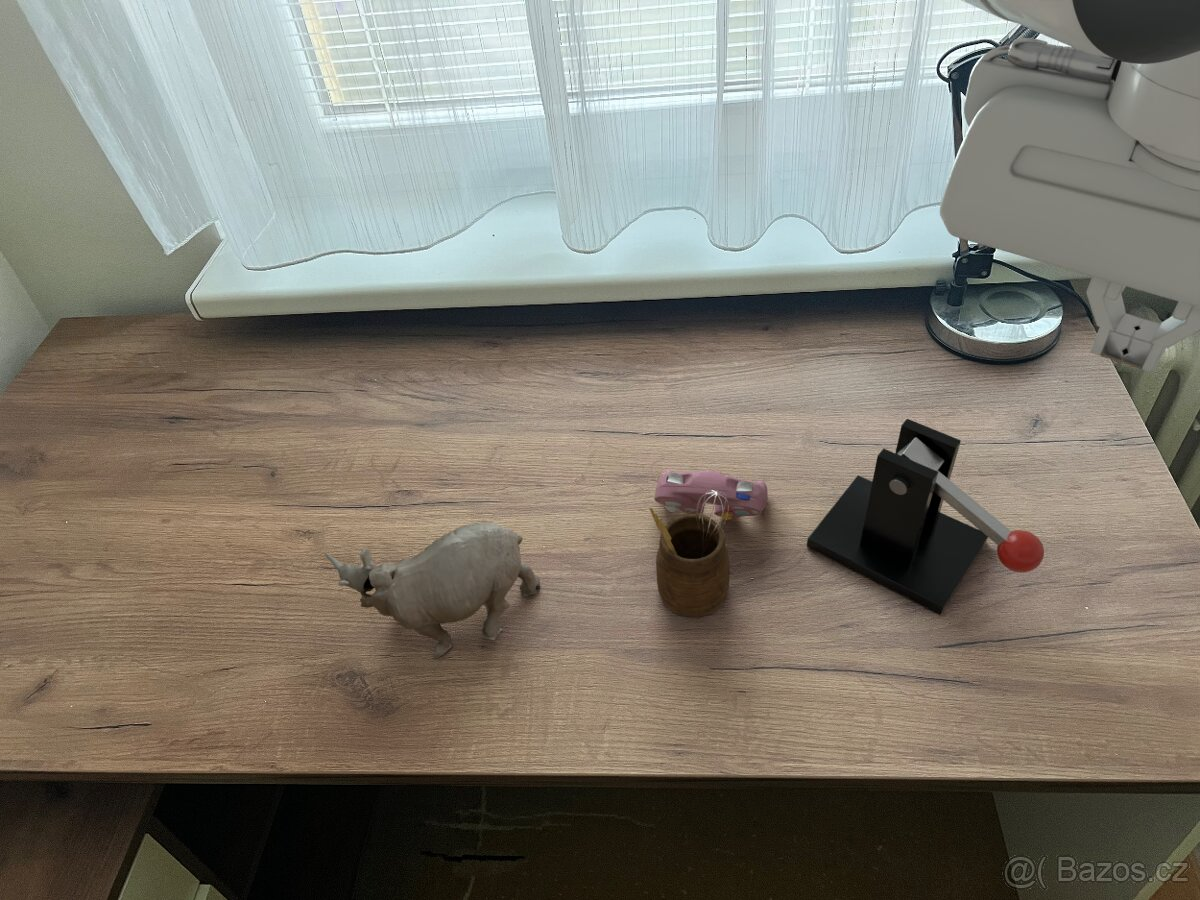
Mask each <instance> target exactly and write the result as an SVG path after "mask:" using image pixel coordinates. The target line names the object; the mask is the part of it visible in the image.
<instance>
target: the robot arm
mask: <svg viewBox="0 0 1200 900" xmlns="http://www.w3.org/2000/svg"><path fill="white" fill-rule="evenodd" d="M961 1H962V2H964V3H966V4H969V5H971V6H973V7H975V8H978V9H980V10H982V11H984V12H985V13H988V14H990V15H993V16H995V17H998V18H999V19H1002V20H1004V21H1008V22H1011V23H1015V24H1018V25H1021V26H1023V27H1025V28H1027V29H1030V30H1032V31H1034V32H1036V33H1039V34H1040V35H1043V36H1045V37H1048V38H1050V39H1052V40H1055V41H1057V42H1060V43H1062V44H1064V45H1057V44H1050V43H1048V41H1046V40H1043V39H1038V38H1032V37H1020V38H1015V39H1013V41H1012V42H1011V44H1010V45H1009V44H1007V45H1000V46H998V47H995V48H993V49H990V50H989V51H987V52H986V53H984V54H982V56H981V57H980V58H979V59H978V60H977V61H976V63H975V65H974V66H973V67H972V69H971V71H970V74H969V79H968V84H967V89H966V94H965V98H964V103H963V114H964V119H965V123H966V124H967V126H968V129H967V130H966V132H965V135H964V138H963V139H962V142H961V144H960V146H959V149H958V151H957V154H956V156H955V158H954V162H953V165H952V167H951V170H950V173H949V175H948V178H947V181H946V183H945V184H946V185H945V188H944V190H943V191H944V192H943V195H942V199H941V201H940V206H939V216H940V218H941V220H942V222H943V224H944V227H945V228H946V231H947V233H949V235H951V236H952V237H954V238H958V239H961V240H964V241H968V242H972V243H975V244H978V245H982V246H985V247H989V248H992V249H996V250H999V251H1002V252H1006V253H1010V254H1012V255H1016V256H1020V257H1023V258H1027V259H1030V260H1034V261H1037V262H1040V263H1043V264H1044V263H1045V264H1046V265H1047V264H1048V265H1051V266H1054V267H1058V268H1062V269H1065V270H1069V271H1071V272H1075V273H1078V274H1082V275H1085V276H1089V277H1090V281H1089V284H1088V286H1087V289H1086V292H1085V293H1086V298H1087V300H1088V303H1089V306H1090V310H1091V312H1092V315H1093V318H1094V321H1095V324H1096V326H1097V327H1099V328H1098V330H1097V333H1096V335H1095V338H1094V339H1093V342H1092V345H1091V348H1090V351H1089V352H1090V354H1093V355H1097V356H1100V357H1102V358H1105V359H1109V360H1112V361H1115V362H1118V363H1122V364H1125V365H1128V366H1131V367H1134V368H1137V369H1139V370H1143V371H1145V372H1148V373H1150V374H1154V371H1155V370H1156V368H1157V367H1158V364H1159V362H1160V360H1161V359H1162V358H1163V355H1164V354H1165V351H1166V350H1167V349H1169V348H1172V347H1173V346H1175V345H1177V344H1178V343H1181V341H1183V340H1185V339H1187V338H1189V337H1191V336H1193V335H1194V334H1196V333H1198V332H1200V0H961ZM1065 45H1067V46H1065ZM1004 56H1005V57H1006V56H1007V57H1006V58H1007V59H1004V58H999V57H1004ZM1126 288H1131V289H1133V290H1134V289H1135V290H1137V291H1141V292H1144V293H1147V294H1151V295H1155V296H1158V297H1161V298H1165V299H1168V300H1172V301H1176V302H1177V303H1176V306H1175V307H1174V310H1173V312H1172V315H1171V316H1169V318H1166V319H1165V320H1164V321H1162V322H1157V321H1153V320H1149V319H1145V318H1142V317H1139V316H1136V315H1133V314H1130V313H1127V311H1126V307H1125V303H1124V299H1123V294H1122V293H1123V292H1124V290H1125V289H1126Z"/></svg>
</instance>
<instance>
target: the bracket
mask: <svg viewBox="0 0 1200 900" xmlns="http://www.w3.org/2000/svg"><path fill="white" fill-rule="evenodd" d="M915 437H916V438H918V439H919V440H920V441H921V442H923V443H924V444H925V445H926V446H927V447H929V448H930V449H931V450H932V451H933V452H935V453H936V454H937V455H938V456H940V457H941V458H942V459H943V460H944V462H943V464H942V465H941V466H940V468H939V469H938V471H939V472H940V473H942V474H943V475H944V476H945V477H946V478H948V479H949V480H950V479H951V477H952V473H953V470H954V466H955V463H956V459H957V456H958V452H959V449H960V445H961V442H962V439H959V438H956V437H954V436H952V435H949V434H947V433H944V432H941V431H939V430H936V429H934V428H932V427H929V426H927V425H924V424H922V423H920V422H917V421H914V420H912V419H909V418H906V419H905V420H904V421H903V423H902V424H901V425H900V430H899V435H898V439H897V444H896V449H895V452H893V451H891V450H889V449H887V448H882V449H881V450H880V452H879V453H877V456H876V461H875V467H874V470H873V476H872V480H870V479H867V478H865V477H863V476H861V475H859V474H858V475H856V477H855V478H854V479H853V480H852V481H851V483H850V485H849V486H848V487H847V488H846V489H845V491H844V492H843V493H842V494H841V496H840V497H839V498H838V499H837V501H836V502H835V503H834V505H833V506H832V507H831V508H830V509H829V511H828V512H827V513H826V515H824V517H823V518H822V520H821V521H820V522H819V523H818V525H817V526H816V527H815V528H814V529H813V531H812V532H811V533H810V535H809V536H808V537H807V540H806V541H807V542H806V548H808V549H809V550H812V551H814V552H816V553H817V554H819V555H822V556H824V557H826V558H827V559H829V560H831V561H834V562H835V563H837V564H839V565H841V566H843V567H845V568H847V569H849V570H851V571H853V572H855V573H857V574H859V575H861V576H862V577H865V578H867V579H868V580H871V581H873V582H875V583H877V584H879V585H880V586H882V587H884V588H886V589H887V590H890V591H892V592H894V593H895V594H897V595H900V596H901V597H903V598H906V599H907V600H910V601H912V603H913V602H914V603H916V604H917V605H920V606H921V607H923V608H925V609H927V610H929V611H931V612H933V613H935V614H937V615H939V616H941V615H942V614H943V612H944V611H945V610H946V607H948V604H949V603H950V601H951V600H952V599H953V596H954V595H955V593H956V592H957V590H958V589H959V588H960V586H961V584H962V583H963V581H964V579H965V578H966V576H967V575H968V572H969V571H970V569H971V568H972V566H973V565H974V563H975V561H976V560H977V559H978V557H979V555H980V554H981V552H982V550H983V549H984V547H985V546H986V544H987V541H988V539H989V537H988V536H986V535H985V534H984V533H983V532H981V531H980V530H979V529H978V528H977V527H975V526H974V527H973V526H971V525H969V524H967V523H965V522H963V521H960V520H958V519H956V518H953V517H952V516H949V515H947V514H945V513H943V512H941V511H942V507H943V504H944V502H945V501H944V500H943V499H942V498H941V497H939V496H938V495H937V494H936V493H935V492H933V490H934V486H935V483H936V479H937V476H938V471H935V470H933V469H931V468H928V467H926V466H924V465H921V464H919V463H917V462H914V461H912V460H910V459H907V458H905V457H903V456H900V455H898V452H899V451H900V450H901V449H903V448H904V447H905V446H906V445H907V444H908V443H909V442H910V441H912V440H913V439H914V438H915ZM950 481H951V480H950Z"/></svg>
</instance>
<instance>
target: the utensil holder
mask: <svg viewBox="0 0 1200 900" xmlns="http://www.w3.org/2000/svg"><path fill="white" fill-rule="evenodd" d="M708 491H713V490H708ZM708 491H707V492H708ZM717 491H718V490H717ZM707 492H706V494H709V493H707ZM713 492H714V491H713ZM720 493H721V492H720ZM706 494H704V495H705V497H706ZM715 494H716V496H717V494H718V493H717V492H715V493H714V495H715ZM723 494H724V493H723ZM704 495H703V496H704ZM718 495H720V494H718ZM724 495H725V494H724ZM703 496H702V497H703ZM712 496H713V495H712ZM716 496H715V500H716ZM721 496H722V495H721ZM702 497H701V498H702ZM710 497H711V496H710ZM710 497H709V498H710ZM718 497H719V496H718ZM722 497H724V496H722ZM725 497H726V495H725ZM725 497H724V498H725ZM701 498H700V499H701ZM709 498H708V499H709ZM708 499H707V500H708ZM719 499H720V497H719ZM725 499H726V498H725ZM704 500H705V498H704ZM707 500H706V501H707ZM715 500H714V504H712V508H711V513H710V516H706V515H703V514H704V512H703V506H702V509H701V511H702V513H700V514H697V513H696V514H692V513H685V514H681V515H678V516H676V517H674V518H672V519H670V520H669V521H668V522H666V524H664V521H663V520H662V518H661V516H660V517H659V516H658V513H657V512H655V511H654V509H653V507H652V506H649V507H648V509H649V510H650V513H651V516H652V518H653V520H654V524H655V525H656V527H657V529H658V531H659V532H660V537H659V540H658V541H659V542H658V548H657V552H656V557H655V568H656V569H655V570H656V585H657V591H658V594H659V597H660V599H661V600H662V603H663V604H664V605H665V606H666V607H667V608H668V609H669V610H670V611H672V612H674V613H675V614H677V615H680V616H683V617H688V618H700V617H705V616H708V615H710V614H712V613H714V612H715V611H717V610H718V609H720V607H721V606H722V605H723V603H724V602H725V601H726V599H727V596H728V593H729V589H730V571H731V570H730V568H731V566H730V553H729V549H728V547H727V540H726V536H725V532H724V531H723V527H724V525H725V523H726V521H727V520H725V519H724V522H723V524H722V520H723V518H722V516H721V517H719V520H718V522H717V521H716V520H714V519H713V518H712V517H713V513H714V510H715ZM706 501H705V502H706ZM720 501H721V499H720ZM726 501H727V500H725V503H726ZM699 502H700V500H699ZM727 503H728V501H727ZM704 504H705V505H706V503H704V502H703V505H704ZM721 504H722V502H721ZM698 506H699V503H698ZM724 508H725V505H724ZM728 509H729V504H728ZM697 510H698V507H697ZM723 512H724V510H723V505H722V515H723ZM727 514H728V511H727ZM726 519H727V516H726ZM721 524H722V526H721Z"/></svg>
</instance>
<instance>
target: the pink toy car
mask: <svg viewBox="0 0 1200 900" xmlns="http://www.w3.org/2000/svg"><path fill="white" fill-rule="evenodd" d="M708 490H713V491H714V492H713V491H708ZM717 490H718V491H717ZM707 491H708V492H707ZM706 492H707V493H709V494H706ZM715 492H717V493H718V494H720V495H718V494H717V496H716V494H715V495H714V493H715ZM720 492H721V493H720ZM723 493H724V494H725V495H726V497H725V495H724V494H723ZM704 494H706V497H705V495H704ZM703 495H704V496H703ZM712 495H713V496H712ZM721 495H722V496H724V497H725V498H726V499H725V498H724V497H722V496H721ZM702 496H703V497H702ZM710 496H711V497H710ZM715 496H716V500H715ZM718 496H719V497H720V499H721V501H720V499H719V497H718ZM701 497H702V498H701ZM709 497H710V498H709ZM700 498H701V499H700ZM704 498H705V500H704ZM708 498H709V499H708ZM707 499H708V500H707ZM699 500H700V502H699ZM706 500H707V501H706ZM714 500H715V505H714V511H713V513H714V515H715V516H717V517H719V518H721V516H722V520H724V521H725V520H726V521H729V520H731V519H739V518H741V517H759V516H761V515H762V514H763V510H764V508H765V507H766V505H767V503H768V500H769V495H768V486H767V483H766V481H765V480H757V481H752V480H748V479H744V478H740V477H739V478H738V477H733V476H730V475H727V474H724V473H722V472H719V471H716V470H711V469H707V470H698V471H693V472H690V471H689V472H688V471H673V470H671V469H668V470H665V471H664V472H663V473H662V475H660V477H659V479H658V481H657V483H656V487H655V491H654V501H655V502H656V503H658V504H661V505H663V506H665V509H666V510H667V511H668V512H671V513H676V512H679V511H681V512H684V513H686V514H696V513H697V514H700V513H701V514H702V511H701V509H702V506H703V513H704V511H705V506H706V504H709V505H713V504H714ZM725 500H727V501H728V503H727V501H726V503H725ZM705 501H706V502H705ZM703 502H704V503H705V504H704V505H703ZM721 502H722V504H721ZM698 503H699V506H698ZM728 504H729V509H728ZM722 505H723V510H724V512H723V515H722ZM724 505H725V508H724ZM697 507H698V510H697ZM727 511H728V514H727ZM726 516H727V519H726Z"/></svg>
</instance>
